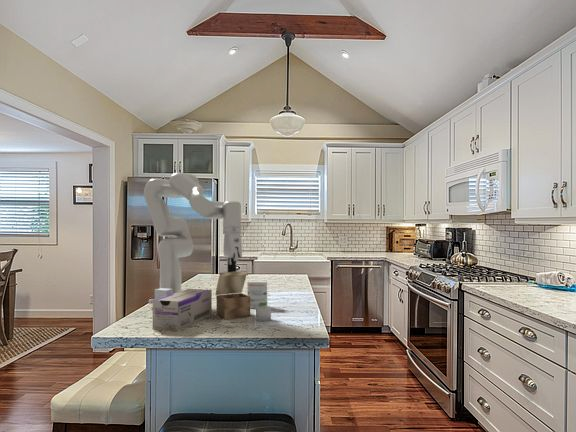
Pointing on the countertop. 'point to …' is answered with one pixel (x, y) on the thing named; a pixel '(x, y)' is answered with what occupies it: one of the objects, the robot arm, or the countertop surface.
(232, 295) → the crate
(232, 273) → the lid
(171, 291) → the skincare box
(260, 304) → the ink box
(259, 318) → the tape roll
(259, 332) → the countertop surface
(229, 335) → the countertop surface
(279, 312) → the countertop surface
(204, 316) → the surgical sutures box
